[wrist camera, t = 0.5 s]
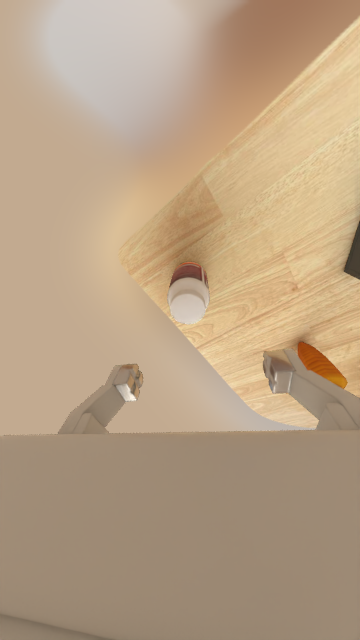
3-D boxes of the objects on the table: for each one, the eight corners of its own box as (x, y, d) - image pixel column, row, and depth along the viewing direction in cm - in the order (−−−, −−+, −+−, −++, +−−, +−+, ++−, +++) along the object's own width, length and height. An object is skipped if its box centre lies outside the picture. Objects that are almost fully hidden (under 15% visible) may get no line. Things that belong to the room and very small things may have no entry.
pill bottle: (165, 279, 32) (154, 311, 23) (187, 252, 29) (184, 277, 20) (191, 299, 34) (189, 335, 25) (214, 276, 31) (221, 308, 22)
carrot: (301, 353, 40) (349, 422, 27) (282, 347, 39) (322, 415, 27) (318, 337, 37) (379, 407, 24) (297, 331, 36) (350, 398, 24)
